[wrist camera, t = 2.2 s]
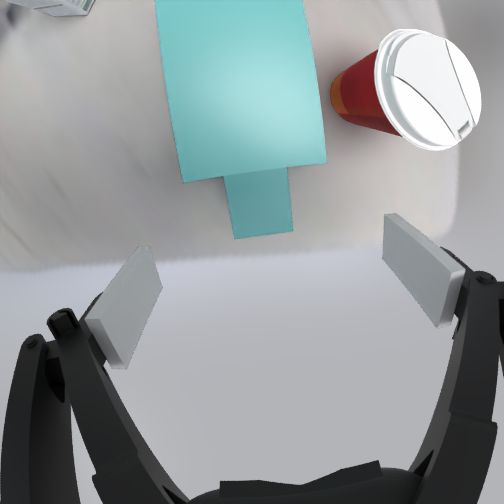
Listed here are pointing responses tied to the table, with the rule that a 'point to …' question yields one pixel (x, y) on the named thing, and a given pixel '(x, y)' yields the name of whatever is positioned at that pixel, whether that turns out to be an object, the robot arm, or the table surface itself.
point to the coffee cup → (412, 90)
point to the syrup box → (57, 6)
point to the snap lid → (242, 101)
